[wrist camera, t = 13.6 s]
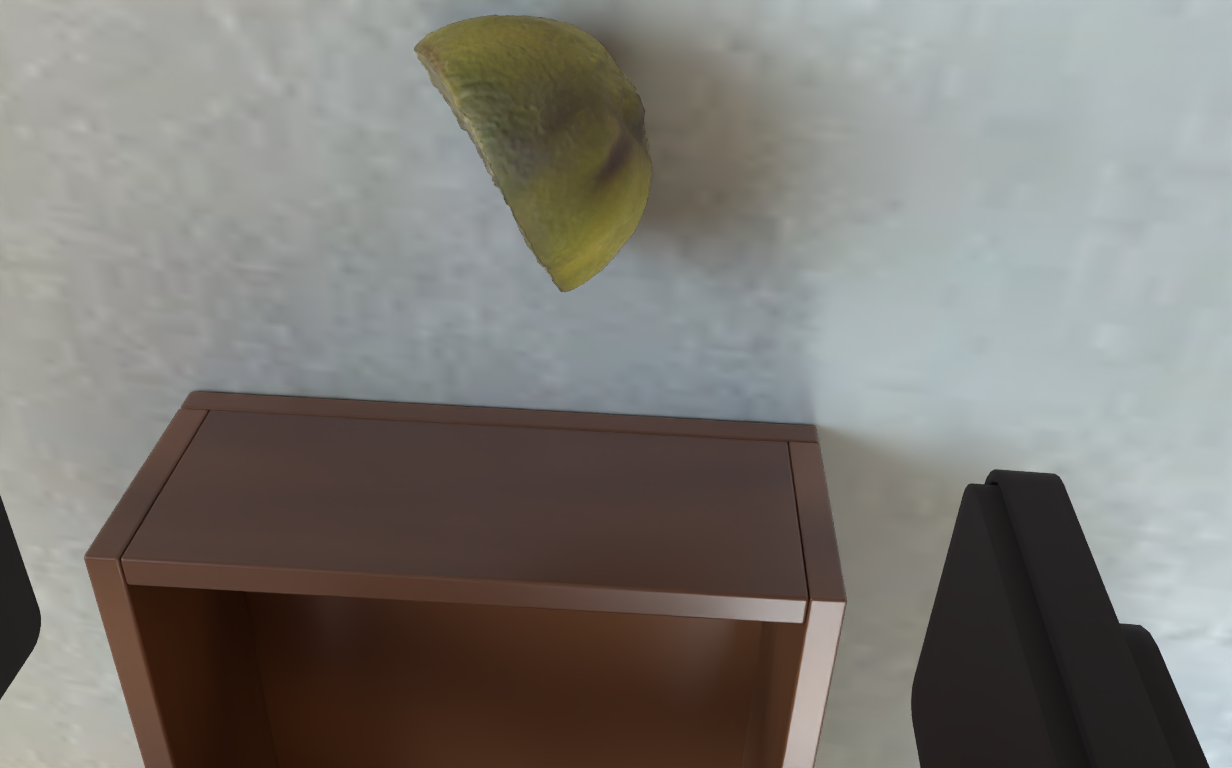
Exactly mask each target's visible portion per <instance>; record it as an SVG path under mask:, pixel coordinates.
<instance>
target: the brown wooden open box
mask: <svg viewBox="0 0 1232 768" xmlns="http://www.w3.org/2000/svg"><path fill="white" fill-rule="evenodd" d="M84 560H85V563H86V566H87V570H88V573H89V577H90V580H91V583H92V587H93V590H94V594H95V597H96V601H97V604H98V607H99V611H100V614H101V618H102V621H103V625H104V628H105V631H106V635H107V638H108V642H109V645H110V649H111V652H112V655H113V659H114V662H115V666H116V669H117V672H118V676H119V679H120V683H121V686H122V690H123V693H124V696H125V700H126V703H127V707H128V710H129V714H130V717H131V720H132V724H133V727H134V731H135V734H136V738H137V741H138V744H139V748H140V751H141V755H142V758H143V761H144V765H145V768H814V764H815V759H816V754H817V749H818V744H819V739H820V734H821V729H822V724H823V719H824V714H825V709H826V704H827V699H828V694H829V689H830V684H831V679H832V674H833V669H834V664H835V659H836V654H837V649H838V644H839V639H840V634H841V629H842V624H843V619H844V614H845V609H846V604H847V598H846V592H845V587H844V581H843V575H842V569H841V564H840V558H839V552H838V546H837V541H836V535H835V529H834V523H833V518H832V512H831V506H830V500H829V495H828V489H827V483H826V477H825V472H824V466H823V460H822V454H821V449H820V444H819V439H818V434H817V429H816V427H815V426H807V425H789V424H771V423H753V422H735V421H717V420H699V419H681V418H663V417H645V416H626V415H608V414H590V413H572V412H554V411H536V410H518V409H500V408H482V407H464V406H446V405H428V404H410V403H392V402H373V401H355V400H337V399H319V398H301V397H283V396H265V395H247V394H229V393H211V392H190V393H189V395H188V396H187V398H186V400H185V401H184V403H183V404H182V406H181V409H179V410H178V412H177V413H176V415H175V416H174V418H173V419H172V421H171V422H170V424H169V425H168V427H167V429H166V430H165V432H164V433H163V435H162V436H161V438H160V439H159V441H158V442H157V444H156V446H155V447H154V449H153V450H152V452H151V453H150V455H149V456H148V458H147V459H146V461H145V463H144V464H143V466H142V467H141V469H140V470H139V472H138V473H137V475H136V476H135V478H134V480H133V481H132V483H131V484H130V486H129V487H128V489H127V490H126V492H125V494H124V495H123V497H122V498H121V500H120V501H119V503H118V504H117V506H116V507H115V509H114V511H113V512H112V514H111V515H110V517H109V518H108V520H107V521H106V523H105V524H104V526H103V528H102V529H101V531H100V532H99V534H98V535H97V537H96V538H95V540H94V541H93V543H92V545H91V546H90V548H89V549H88V551H87V552H86V554H85V556H84Z"/></svg>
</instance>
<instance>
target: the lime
mask: <svg viewBox="0 0 1232 768" xmlns="http://www.w3.org/2000/svg"><path fill="white" fill-rule="evenodd" d="M414 51H415V52H416V53H417V55H418V59H419V60H420V61H421V63H422V65H424V67H425V69H426V70H427V71H428V74H429V77H430V80H431V82H432V84H433V85H434V86H435V87H436V88H438V90H439V92H440V93H441V94H442V95H443V98H444V99H445V101H446V102H447V103H448V104H449V105H450V107H451V109H452V112H453V114H454V115H455V116H456V118H457V121H458V123H459V125H460V127H461V129H463V130H465V131H467V132H468V134H469V136H470V138H471V140H472V141H473V143H474V144H475V145H476V148H477V150H478V153H479V154H480V157H481V158H482V159H483V162H484V164H485V167H486V169H487V171H488V173H490V175H491V176H492V181H493V182H494V185H495V186H496V187H498V188H499V189H500V191H501V194H502V195H503V196H504V200H505V202H506V204H507V205H509V206H510V209H511V211H512V213H513V216H514V218H515V220H516V222H517V225H518V227H519V230H520V232H521V234H522V235H523V237H524V240H525V242H526V244H527V246H528V247H529V248H530V250H531V251H532V252H533V253H534V254H535V256H536V258H537V261H538V263H539V264H540V265H541V266H543V267H544V268H545V270H546V271H547V272H548V273H549V275H550V277H551V278H552V281H553V282H554V284H555V285H556V286H557V287H558V288H559V290H560V291H561V292H567V291H571V290H573V289H575V288H577V287H578V286H580V285H582V284H584V283H585V282H586V281H588V280H589V279H591V278H592V277H593V276H594V275H596V274H597V273H599V272H600V271H601V270H602V269H604V268H605V267H606V266H607V265H608V263H609V262H610V261H611V260H612V259H613V258H614V256H615V255H616V254H617V253H618V252H619V250H620V249H621V247H622V246H623V245H624V244H625V243H626V242H627V240H628V239H629V238H630V237H631V236H632V234H633V233H634V231H635V230H636V228H637V226H638V223H639V221H640V218H641V216H642V214H643V211H644V208H645V205H646V203H647V200H648V195H649V190H650V180H651V172H652V162H651V159H650V156H649V145H648V140H647V138H646V136H645V130H644V113H645V110H644V108H643V105H642V103H641V99H640V97H639V95H638V94H637V93H636V92H635V87H634V86H633V85H632V84H631V83H630V82H629V81H628V79H627V78H626V77H625V76H624V75H623V73H622V72H621V70H620V69H619V68H618V67H617V65H616V64H615V61H614V59H613V58H612V57H611V55H610V54H609V53H608V51H607V50H606V49H605V48H604V47H603V45H601V44H600V43H599V42H598V41H597V40H596V39H595V38H594V37H592V36H591V35H589V34H588V33H586V32H584V31H582V30H581V29H579V28H577V27H575V26H574V25H571V24H568V23H564V22H558V21H556V20H552V19H544V18H541V17H530V16H513V15H506V16H498V15H491V16H484V17H478V18H473V19H472V18H471V19H469V20H463V21H459V22H456V23H452V24H450V25H447V26H446V27H443V28H440V29H439V30H436V31H434V32H431V33H429V34H427V35H426V37H425V38H424V39H423V40H421V41H420V42H419V43H418V44H417V45H416V46H415V48H414Z"/></svg>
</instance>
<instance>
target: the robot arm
mask: <svg viewBox="0 0 1232 768" xmlns="http://www.w3.org/2000/svg"><path fill="white" fill-rule="evenodd" d="M40 627H41V615H40V610H39V606H38V603H37V601H36V598H35V595H34V592H33V589H32V586H31V583H30V580H29V577H28V574H27V571H26V569H25V566H24V563H23V560H22V557H21V554H20V551H19V548H18V545H17V542H16V539H15V537H14V534H13V531H12V528H11V525H10V522H9V519H8V516H7V513H6V510H5V507H4V504H3V502H2V499H1V496H0V699H1V698H2V696H3V695H4V693H5V692H6V690H7V689H8V687H9V686H10V684H11V683H12V681H13V680H14V678H15V676H16V675H17V673H18V672H19V670H20V669H21V667H22V666H23V664H24V663H25V661H26V660H27V658H28V657H29V655H30V654H31V652H32V651H33V649H34V647H35V645H36V643H37V640H38V637H39V633H40ZM911 710H912V721H913V727H914V733H915V739H916V744H917V750H918V756H919V761H920V767H921V768H1210V767H1209V765H1208V763H1207V760H1206V758H1205V756H1204V753H1203V751H1202V748H1201V746H1200V744H1199V741H1198V739H1197V737H1196V734H1195V732H1194V730H1193V727H1192V725H1191V723H1190V720H1189V718H1188V716H1187V713H1186V711H1185V709H1184V706H1183V704H1182V702H1181V699H1180V697H1179V695H1178V692H1177V690H1176V688H1175V685H1174V683H1173V681H1172V678H1171V676H1170V674H1169V671H1168V669H1167V667H1166V664H1165V662H1164V660H1163V657H1162V655H1161V653H1160V650H1159V648H1158V646H1157V644H1156V643H1155V641H1154V639H1153V637H1152V636H1151V634H1150V632H1148V631H1147V630H1146V629H1145V628H1143V627H1142V626H1141V625H1133V624H1120V623H1119V621H1118V619H1117V616H1116V614H1115V611H1114V609H1113V606H1112V604H1111V601H1110V599H1109V596H1108V594H1107V591H1106V589H1105V586H1104V584H1103V581H1102V579H1101V576H1100V574H1099V571H1098V569H1097V566H1096V564H1095V561H1094V559H1093V556H1092V554H1091V551H1090V549H1089V546H1088V544H1087V541H1086V539H1085V536H1084V534H1083V531H1082V529H1081V526H1080V524H1079V521H1078V519H1077V516H1076V514H1075V511H1074V509H1073V506H1072V504H1071V501H1070V499H1069V496H1068V494H1067V491H1066V489H1065V486H1064V484H1063V482H1062V480H1061V479H1060V477H1059V476H1057V475H1056V474H1051V473H1038V472H1024V471H1010V470H996V469H995V470H993V471H991V472H990V474H989V475H988V476H987V479H986V481H985V484H972V483H971V484H968V486H967V487H966V489H965V491H964V494H963V497H962V501H961V504H960V508H959V512H958V516H957V519H956V523H955V527H954V531H953V534H952V538H951V542H950V546H949V549H948V553H947V557H946V561H945V564H944V568H943V572H942V576H941V579H940V583H939V587H938V591H937V594H936V598H935V602H934V606H933V609H932V613H931V617H930V621H929V624H928V628H927V632H926V636H925V639H924V643H923V647H922V651H921V654H920V658H919V662H918V666H917V669H916V673H915V677H914V681H913V686H912V697H911Z"/></svg>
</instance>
